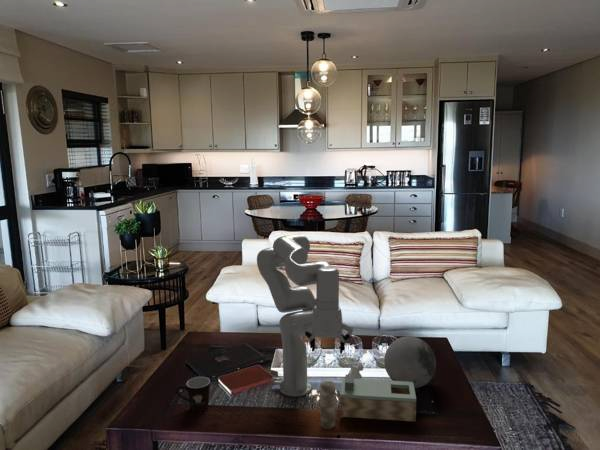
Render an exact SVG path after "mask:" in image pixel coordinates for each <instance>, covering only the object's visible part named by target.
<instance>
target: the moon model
mask: <svg viewBox="0 0 600 450" xmlns="http://www.w3.org/2000/svg"><path fill="white" fill-rule="evenodd" d="M383 360H384V361H383V362H384V368H385V369H384V370H385V371H386V374H387V375H388V377H389V379H390V380H391V381H407V382H413V384H414V389H419V388H422V387H424V386H426V385H427V384H428V383H429V382H430V381H431V380H432V378H433V377H434V375H435V372H436V368H437V360H436V356H435V354H434V351H433V349H432V348H431V347H430V345H429V344H428V343H426V341H424V340H422V339H421V338H419V337H416V336H410V335H409V336H402V337H399V338H396V339H395V340H394V341H392V342H391V343H389V345H388V347H387V348H386V351H385V353H384V359H383Z"/></svg>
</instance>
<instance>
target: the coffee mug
mask: <svg viewBox="0 0 600 450" xmlns="http://www.w3.org/2000/svg"><path fill="white" fill-rule="evenodd" d="M180 389H184V390H186V392H187V396H188V398H187V397H185V396H183V395H181V393H180V392H179V390H180ZM210 390H211V380H210V378H209V377H206V376H195V377H192V378H190V379H188V380H187V382H186V386H184V385H183V386H179V387H178V388H177V389H176V395H177V396H179V397H180V398H181V399H183V400H185V401H187V402H188V403H189V407H190V410H191V409H192V410H194V411H201V410H204V409H206V408H207V407H208V408H209V401H210ZM208 408H207V409H208ZM207 409H206V410H207ZM192 410H191V411H192ZM194 411H193V412H194ZM204 411H205V410H204ZM201 412H202V411H201Z"/></svg>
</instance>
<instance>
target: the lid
mask: <svg viewBox="0 0 600 450" xmlns="http://www.w3.org/2000/svg"><path fill="white" fill-rule="evenodd" d="M391 387H394V388H409V393H410V394H394V393H391ZM415 389H416V388H415ZM415 389H414V384H413V382H407V381H393V380H386V379H385V380H384V379H365V378H362V379H354V375H348V374H345V377H342V379H341V385H340V392H339V399H340V398H356V399H373V400H390V401H407V402H416V403H417V396H416V390H415Z"/></svg>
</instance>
